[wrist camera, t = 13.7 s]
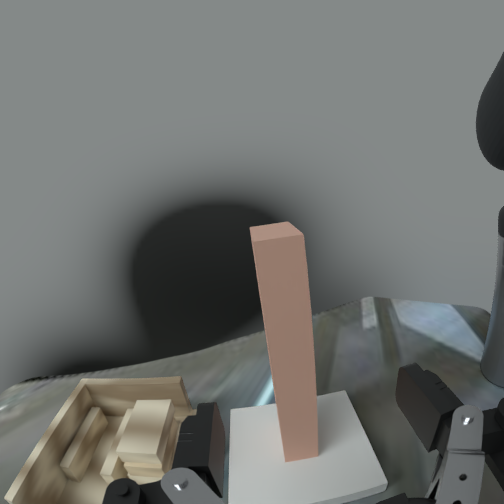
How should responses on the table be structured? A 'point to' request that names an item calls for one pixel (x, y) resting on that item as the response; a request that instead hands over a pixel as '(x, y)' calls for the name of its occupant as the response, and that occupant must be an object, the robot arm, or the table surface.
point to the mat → (306, 470)
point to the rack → (89, 440)
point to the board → (288, 334)
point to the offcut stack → (149, 440)
